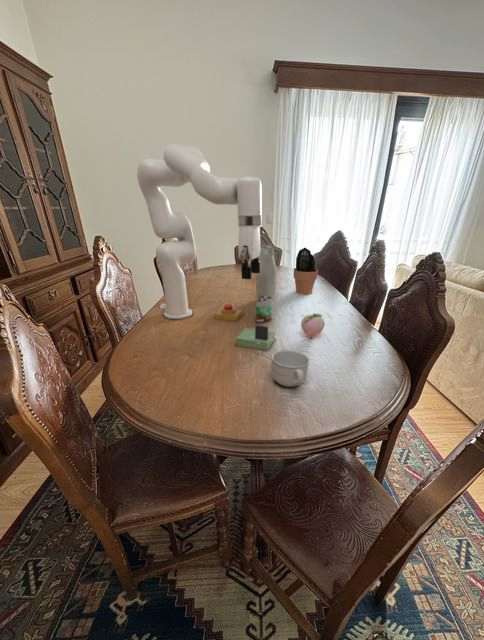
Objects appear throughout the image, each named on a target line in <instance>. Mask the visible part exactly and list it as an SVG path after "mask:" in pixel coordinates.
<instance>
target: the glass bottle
mask: <svg viewBox="0 0 484 640" xmlns="http://www.w3.org/2000/svg"><path fill="white" fill-rule="evenodd" d="M259 257H260V261H258V262H260V273H255V292H256V296H257V298H258V300H259V299H260V298H261V296H262V294H266V295H269V296H271V297H272V299H274V298H275V296H276V291H277V290H276V289H277V288H276V287H277V266H276V261H275V250H274V247H273V246H272V245H270V244H262V245H260V256H259Z"/></svg>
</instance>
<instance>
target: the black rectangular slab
mask: <svg viewBox="0 0 484 640" xmlns="http://www.w3.org/2000/svg"><path fill="white" fill-rule="evenodd" d="M254 329H255V339H261V340H268V331H269V325H268V324H265V325H263V324H255V326H254Z"/></svg>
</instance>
